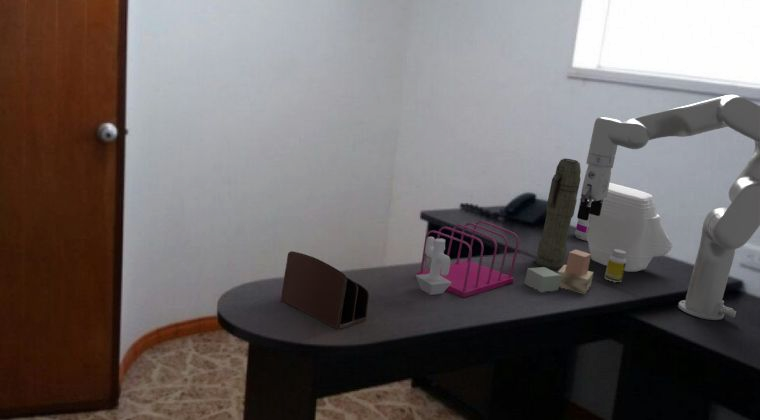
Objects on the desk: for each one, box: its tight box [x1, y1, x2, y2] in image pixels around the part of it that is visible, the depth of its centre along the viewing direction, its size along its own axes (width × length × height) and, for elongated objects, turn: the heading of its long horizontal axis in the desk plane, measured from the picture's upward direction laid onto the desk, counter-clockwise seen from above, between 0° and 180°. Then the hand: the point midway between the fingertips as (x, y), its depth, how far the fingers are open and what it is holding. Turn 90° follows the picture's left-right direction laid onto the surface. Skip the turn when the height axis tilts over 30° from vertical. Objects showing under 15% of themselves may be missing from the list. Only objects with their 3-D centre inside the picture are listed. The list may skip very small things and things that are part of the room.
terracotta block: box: [565, 249, 591, 276], centre depth 226 cm, size 5×5×6 cm
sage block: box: [524, 266, 561, 293], centre depth 223 cm, size 7×7×5 cm
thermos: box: [535, 158, 582, 270], centre depth 243 cm, size 9×12×35 cm
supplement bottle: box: [604, 249, 626, 283], centre depth 239 cm, size 5×5×10 cm
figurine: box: [415, 236, 452, 296], centre depth 205 cm, size 7×9×15 cm
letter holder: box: [280, 250, 370, 330], centre depth 181 cm, size 10×20×14 cm, turn 50°
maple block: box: [557, 264, 595, 294], centre depth 228 cm, size 9×9×5 cm
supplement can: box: [574, 200, 593, 242], centre depth 285 cm, size 8×8×15 cm
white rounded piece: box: [586, 182, 673, 273], centre depth 254 cm, size 21×27×26 cm
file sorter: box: [416, 220, 520, 298], centre depth 218 cm, size 17×25×16 cm
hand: (588, 217), depth 223 cm, fingers open, 9 cm apart
